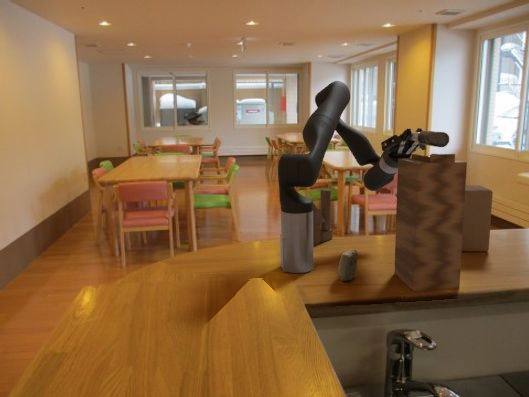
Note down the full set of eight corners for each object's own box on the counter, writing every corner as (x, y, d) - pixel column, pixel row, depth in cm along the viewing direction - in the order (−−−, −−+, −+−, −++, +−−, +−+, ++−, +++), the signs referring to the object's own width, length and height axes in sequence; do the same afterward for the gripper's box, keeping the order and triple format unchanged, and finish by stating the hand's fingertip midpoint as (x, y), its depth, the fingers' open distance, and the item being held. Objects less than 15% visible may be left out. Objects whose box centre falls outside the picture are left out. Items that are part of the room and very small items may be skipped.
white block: (358, 283, 119) (359, 254, 118) (338, 283, 120) (338, 254, 118) (356, 276, 125) (356, 248, 123) (337, 275, 125) (337, 248, 124)
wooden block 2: (478, 243, 153) (482, 185, 149) (489, 252, 143) (494, 189, 139) (447, 243, 154) (450, 185, 150) (456, 252, 144) (460, 190, 140)
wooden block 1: (306, 243, 157) (305, 192, 154) (324, 237, 165) (324, 188, 161) (314, 245, 154) (314, 193, 151) (332, 239, 162) (333, 189, 159)
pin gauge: (434, 147, 108) (435, 132, 108) (401, 142, 129) (401, 129, 128) (449, 147, 109) (449, 131, 108) (413, 141, 129) (414, 129, 128)
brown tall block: (413, 291, 114) (418, 155, 107) (394, 273, 126) (398, 150, 120) (459, 288, 114) (467, 153, 108) (436, 271, 127) (442, 149, 121)
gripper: (370, 147, 140) (388, 119, 124) (414, 146, 141) (437, 118, 125) (373, 169, 138) (392, 143, 122) (418, 168, 139) (442, 142, 123)
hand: (415, 131), depth 124 cm, fingers closed on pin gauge, 2 cm apart
